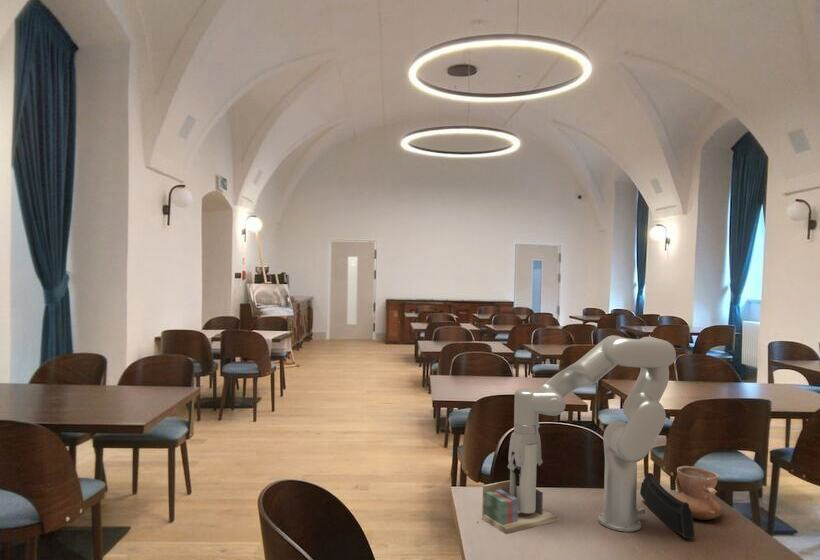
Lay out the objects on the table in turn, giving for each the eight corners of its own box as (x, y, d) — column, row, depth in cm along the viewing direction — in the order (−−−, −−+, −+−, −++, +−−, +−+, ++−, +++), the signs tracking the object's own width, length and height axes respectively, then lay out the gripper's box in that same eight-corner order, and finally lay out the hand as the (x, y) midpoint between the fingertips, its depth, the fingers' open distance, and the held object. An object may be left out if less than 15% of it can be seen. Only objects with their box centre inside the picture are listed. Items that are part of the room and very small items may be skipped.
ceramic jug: (734, 525, 176) (735, 480, 177) (692, 526, 174) (692, 480, 175) (697, 503, 194) (698, 462, 194) (659, 504, 192) (659, 463, 193)
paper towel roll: (538, 509, 177) (540, 442, 177) (529, 515, 172) (531, 446, 172) (518, 503, 181) (520, 437, 181) (509, 509, 177) (510, 441, 177)
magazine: (700, 515, 162) (655, 454, 190) (688, 514, 162) (646, 454, 190) (689, 563, 167) (648, 496, 195) (678, 562, 167) (638, 496, 195)
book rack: (482, 518, 177) (482, 485, 177) (530, 507, 187) (531, 475, 187) (506, 533, 166) (507, 498, 166) (556, 521, 176) (557, 487, 176)
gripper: (537, 423, 184) (536, 479, 184) (497, 428, 176) (496, 487, 176) (554, 428, 177) (552, 486, 177) (513, 434, 169) (512, 495, 169)
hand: (525, 486), depth 177 cm, fingers open, 3 cm apart
